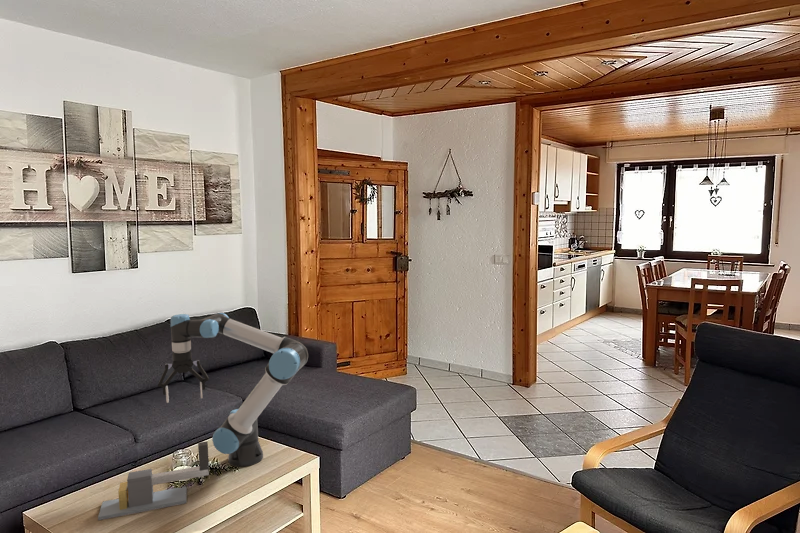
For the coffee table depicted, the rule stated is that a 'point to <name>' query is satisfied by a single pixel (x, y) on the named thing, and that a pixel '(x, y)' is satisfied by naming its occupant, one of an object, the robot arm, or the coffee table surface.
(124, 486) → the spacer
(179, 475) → the shaft
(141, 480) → the bracket
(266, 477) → the coffee table surface
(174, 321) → the robot arm
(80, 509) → the coffee table surface
